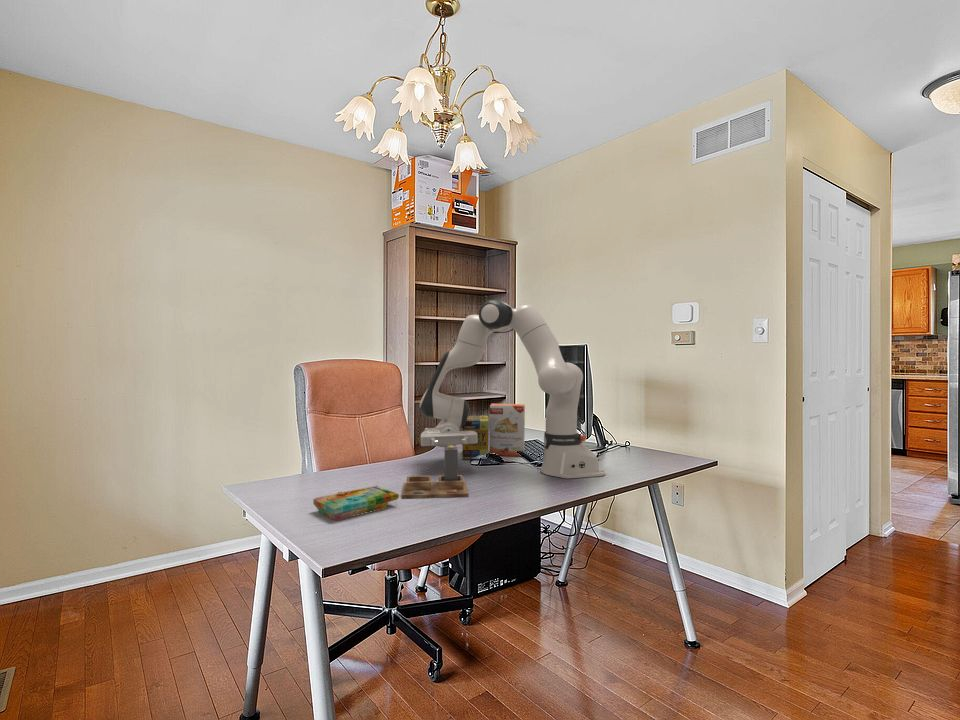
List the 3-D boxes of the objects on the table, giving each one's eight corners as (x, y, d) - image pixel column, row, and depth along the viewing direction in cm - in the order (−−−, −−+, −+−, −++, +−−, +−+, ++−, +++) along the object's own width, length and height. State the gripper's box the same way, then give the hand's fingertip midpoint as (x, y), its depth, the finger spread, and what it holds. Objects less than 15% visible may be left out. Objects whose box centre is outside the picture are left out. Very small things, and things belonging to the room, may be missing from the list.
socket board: (465, 484, 175) (465, 473, 175) (468, 496, 161) (468, 485, 161) (403, 485, 173) (403, 474, 173) (401, 498, 159) (401, 486, 159)
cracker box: (489, 455, 218) (489, 404, 217) (491, 452, 224) (491, 402, 223) (523, 457, 216) (523, 405, 215) (524, 454, 222) (525, 403, 221)
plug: (456, 484, 171) (457, 444, 171) (457, 487, 167) (457, 447, 167) (444, 484, 171) (444, 444, 171) (444, 488, 167) (444, 447, 167)
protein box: (462, 459, 211) (462, 420, 210) (463, 451, 226) (463, 415, 226) (488, 459, 211) (488, 420, 210) (487, 451, 226) (487, 415, 226)
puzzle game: (313, 496, 147) (376, 482, 160) (313, 513, 147) (376, 498, 161) (334, 505, 138) (398, 490, 152) (334, 523, 138) (398, 507, 152)
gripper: (476, 442, 198) (480, 450, 184) (421, 445, 196) (420, 453, 182) (476, 425, 198) (479, 432, 184) (420, 428, 196) (419, 435, 182)
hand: (449, 442), depth 183 cm, fingers open, 8 cm apart
